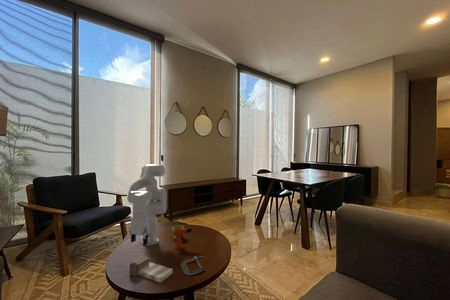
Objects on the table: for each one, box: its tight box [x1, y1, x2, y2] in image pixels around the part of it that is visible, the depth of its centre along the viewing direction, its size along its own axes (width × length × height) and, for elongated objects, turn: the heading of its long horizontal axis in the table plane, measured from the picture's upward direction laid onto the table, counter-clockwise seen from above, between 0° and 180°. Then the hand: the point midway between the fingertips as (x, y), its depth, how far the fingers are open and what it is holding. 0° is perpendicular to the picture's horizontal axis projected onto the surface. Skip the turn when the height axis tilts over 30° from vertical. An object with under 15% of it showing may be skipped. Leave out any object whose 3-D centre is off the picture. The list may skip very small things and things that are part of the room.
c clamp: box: [180, 255, 206, 277], centre depth 137 cm, size 20×17×3 cm
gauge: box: [129, 255, 150, 277], centre depth 130 cm, size 5×10×7 cm, turn 154°
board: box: [137, 261, 174, 283], centre depth 129 cm, size 24×10×3 cm, turn 64°
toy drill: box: [173, 227, 199, 250], centre depth 162 cm, size 5×19×15 cm, turn 94°
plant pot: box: [171, 225, 185, 240], centre depth 179 cm, size 9×9×9 cm
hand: (139, 243), depth 130 cm, fingers open, 9 cm apart
